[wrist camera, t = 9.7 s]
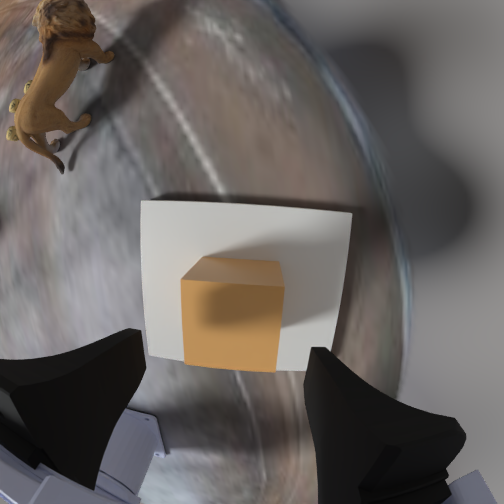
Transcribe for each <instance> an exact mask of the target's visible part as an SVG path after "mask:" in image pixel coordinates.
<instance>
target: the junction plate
mask: <svg viewBox="0 0 504 504" xmlns="http://www.w3.org/2000/svg"><path fill="white" fill-rule="evenodd" d="M351 223H352V213H348V212H341V211H331V210H321V209H311V208H300V207H288V206H275V205H261V204H245V203H227V202H206V201H177V200H142V201H141V269H142V288H143V303H144V315H145V325H146V334H147V343H148V351H149V355H150V356H156V357H161V358H167V359H173V360H179V361H184V348H183V332H182V312H181V282H180V279H181V278H182V277H183V276H184V275H185V274H186V273H187V272H188V271H189V270H190V269H191V268H192V267H193V266H194V265H195V264H196V263H197V262H198V261H199V260H200V258H201V257H217V258H233V259H249V260H265V261H279V263H280V267H281V271H282V276H283V280H284V285H285V291H284V301H283V311H282V320H281V330H280V339H279V347H278V356H277V364H276V370H285V371H306V370H307V365H308V360H309V355H310V350H311V347H326V348H327V349H328V350H329V351H331V347H332V343H333V338H334V333H335V328H336V323H337V318H338V313H339V308H340V302H341V296H342V290H343V284H344V278H345V271H346V264H347V257H348V249H349V241H350V232H351Z"/></svg>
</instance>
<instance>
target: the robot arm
mask: <svg viewBox="0 0 504 504" xmlns="http://www.w3.org/2000/svg"><path fill="white" fill-rule="evenodd" d="M145 370H146V362H145V355H144V348H143V341H142V333H141V330H137V329H131V328H128V329H125V330H122V331H119V332H117V333H115V334H112V335H110V336H108V337H105V338H103V339H101V340H98V341H96V342H94V343H91V344H89V345H86V346H83V347H81V348H78V349H75V350H72V351H69V352H66V353H62V354H58V355H54V356H48V357H42V358H35V359H24V360H7V359H0V497H2V498H3V499H4V500H5V501H6V502H7V503H9V504H140V501H141V498H139V497H137V496H138V493H139V490H140V488H141V485H142V483H143V480H144V478H145V475H146V473H147V470H148V468H149V465H150V463H151V460H152V458H153V456H157V457H161V458H165V457H166V453H165V449H164V446H163V442H162V438H161V434H160V430H159V426H158V422H157V418H156V417H154V416H152V415H148V414H144V413H140V412H137V411H133V410H129V409H126V407H127V405H128V403H129V402H130V400H131V398H132V397H133V395H134V393H135V392H136V390H137V388H138V387H139V385H140V383H141V380H142V378H143V375H144V373H145ZM303 385H304V398H305V406H306V410H307V415H308V419H309V424H310V428H311V432H312V437H313V441H314V446H315V452H316V463H317V478H318V504H497V502H496V501H495V499H494V497H493V495H492V493H491V491H490V490H489V488H488V486H487V484H486V483H485V481H484V479H483V477H482V476H481V474H480V472H479V471H478V470H475V471H473V472H471V473H469V474H467V475H465V476H463V477H461V478H459V479H457V480H455V481H453V482H452V483H451V484H449V485H447V483H446V481H445V479H447V478H448V476H449V474H448V472H447V470H446V468H447V467H448V466H449V464H450V463H451V462H452V461H453V460H454V458H455V457H456V456H457V454H458V453H459V452H460V450H461V449H462V448H463V446H464V443H465V441H466V433H465V432H464V430H463V429H462V428H461V426H460V424H459V423H458V422H457V420H456V419H455V418H452V417H447V416H442V415H437V414H433V413H429V412H426V411H422V410H419V409H416V408H414V407H411V406H408V405H406V404H404V403H401V402H399V401H397V400H395V399H393V398H391V397H389V396H387V395H385V394H384V393H382V392H380V391H379V390H377V389H375V388H374V387H372V386H371V385H369V384H368V383H367V382H365V381H364V380H363V379H361V378H360V377H359V376H357V375H356V374H355V373H354V372H353V371H351V370H350V369H349V368H348V367H347V366H346V365H345V364H343V363H342V362H341V361H340V360H339V359H338V358H337V357H336V356H335V355H334V354H333V353H332V352H331V351H329V350H328V349H327V348H326V347H311V350H310V355H309V360H308V365H307V370H306V375H305V380H304V384H303Z"/></svg>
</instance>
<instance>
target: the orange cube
mask: <svg viewBox="0 0 504 504" xmlns="http://www.w3.org/2000/svg"><path fill="white" fill-rule="evenodd" d="M180 282H181V312H182V332H183V348H184V361H185V364H187V365H195V366H203V367H211V368H221V369H231V370H243V371H258V372H276V364H277V356H278V347H279V339H280V330H281V320H282V311H283V301H284V291H285V285H284V280H283V276H282V271H281V267H280V263H279V261H265V260H249V259H233V258H217V257H201V258H200V260H199V261H198V262H197V263H196V264H195V265H194V266H193V267H192V268H191V269H190V270H189V271H188V272H187V273H186V274H185V275H184V276H183V277H182V278H181V279H180Z"/></svg>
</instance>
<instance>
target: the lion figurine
mask: <svg viewBox="0 0 504 504" xmlns="http://www.w3.org/2000/svg"><path fill="white" fill-rule="evenodd" d="M94 23H95V18H94V16H93V15H92V14H91V11H90V9H89V8H88V5H87V4H86V3H85V2H84V0H42V1H41V2H40V3H39V5H38V7H37V9H36V14H35V15H34V16H33V21H32V25H33V26H36V27H37V28H38V31H39V34H40V36H39V41H40V42H41V43H42V44H43V56H42V59H41V62H40V65H39V67H38V70H37V72H36V75H35V77H34V79H33V81H32V83H31V85H30V87H29V89H28V91H27V92H26V94H25V95H24V96H23V98H22V99H21V101H20V103H19V105H18V107H17V110H16V113H15V127H16V132H17V135H18V137H19V139H20V141H21V142H22V143H23V144H24V145H25V146H26V147H27V148H29V149H30V150H32V151H34V152H36V153H38V154H40V155H42V156H45V157H47V158H49V159H50V160H52V161H53V162H54V163H55V165H56V167H57V168H58V169H59V171H60V173H61V174H64V169H65V166H64V164H63V162H62V161H61V160H60V159H59V158H58V157H57V156H55V155H54V153H56V152H57V151H58V149H59V146H60V142H59V140H57V139H54V140H53V141H52V142H51V144H50V145H49V144H48V142H47V140H46V133H45V132H49V131H54V130H62V131H63V132H65V133H66V134H69V133H71V132H73V131H75V130H78V129H82V128H84V127H86V126H87V125H88V124H89V123H90V121H91V115H90V114H85V113H84V114H82V115H81V116H80V118H79V120H78V121H77V122H72V121H70V120H69V119H68V118H67V117H66V115H65V114H64V113H63V111H61V110H59V109H57V108H56V107H55V105H54V104H55V102H56V101H57V100H58V99H59V98H60V97H61V96H62V95H63V94H64V93H65V92H66V91H67V89H68V88H69V87H70V85H71V83H72V82H73V80H74V78H75V76H76V74H77V71H78V70H80V71H84V70H86V69H87V68H88V67H89V65H90V59H87V58H92V59H94V60H96V61H97V62H98V63H108V62H110V61H111V60H112V59H113V58H114V53H113V52H111V51H108V52H105V53H104V52H103V51H102V49H101V48H100V46H99V45H98V44H97V43H96V42H94V41H93V40H92V39H93V37H94V33H95V30H96V26H95V24H94ZM82 58H84V59H83V60H82ZM30 137H32V138H33V139H34V140H35V142H36V143H35V142H34V141H33V140H32V139H30Z"/></svg>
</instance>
